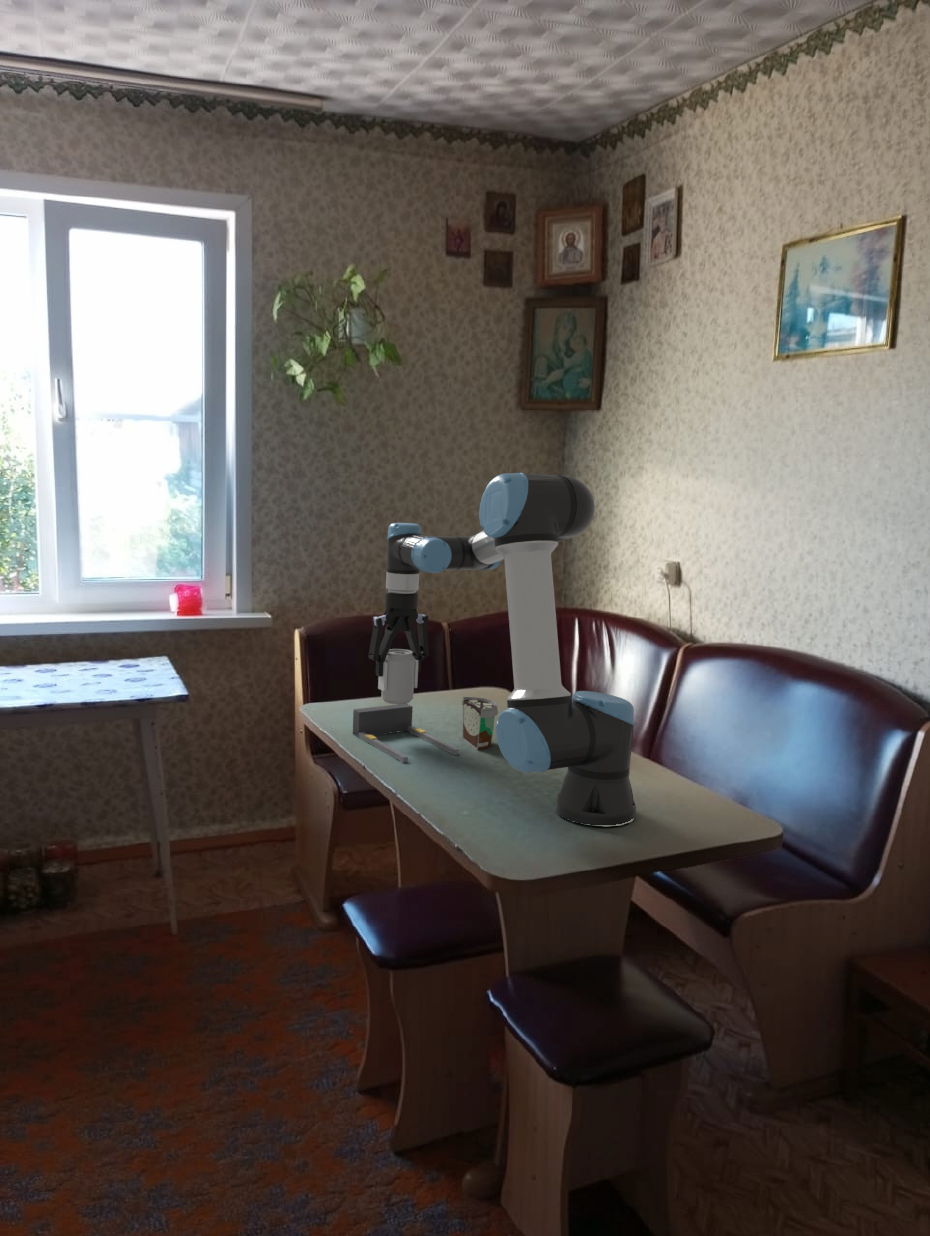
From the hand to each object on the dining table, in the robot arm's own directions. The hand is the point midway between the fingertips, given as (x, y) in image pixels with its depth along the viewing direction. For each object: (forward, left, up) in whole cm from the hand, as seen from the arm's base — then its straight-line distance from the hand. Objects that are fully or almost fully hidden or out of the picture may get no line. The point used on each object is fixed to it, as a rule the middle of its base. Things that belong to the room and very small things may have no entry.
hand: (397, 688), depth 223 cm
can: (0, 0, -3) cm, 3 cm away
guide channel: (-4, 0, -12) cm, 13 cm away
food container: (-11, -17, -13) cm, 24 cm away
